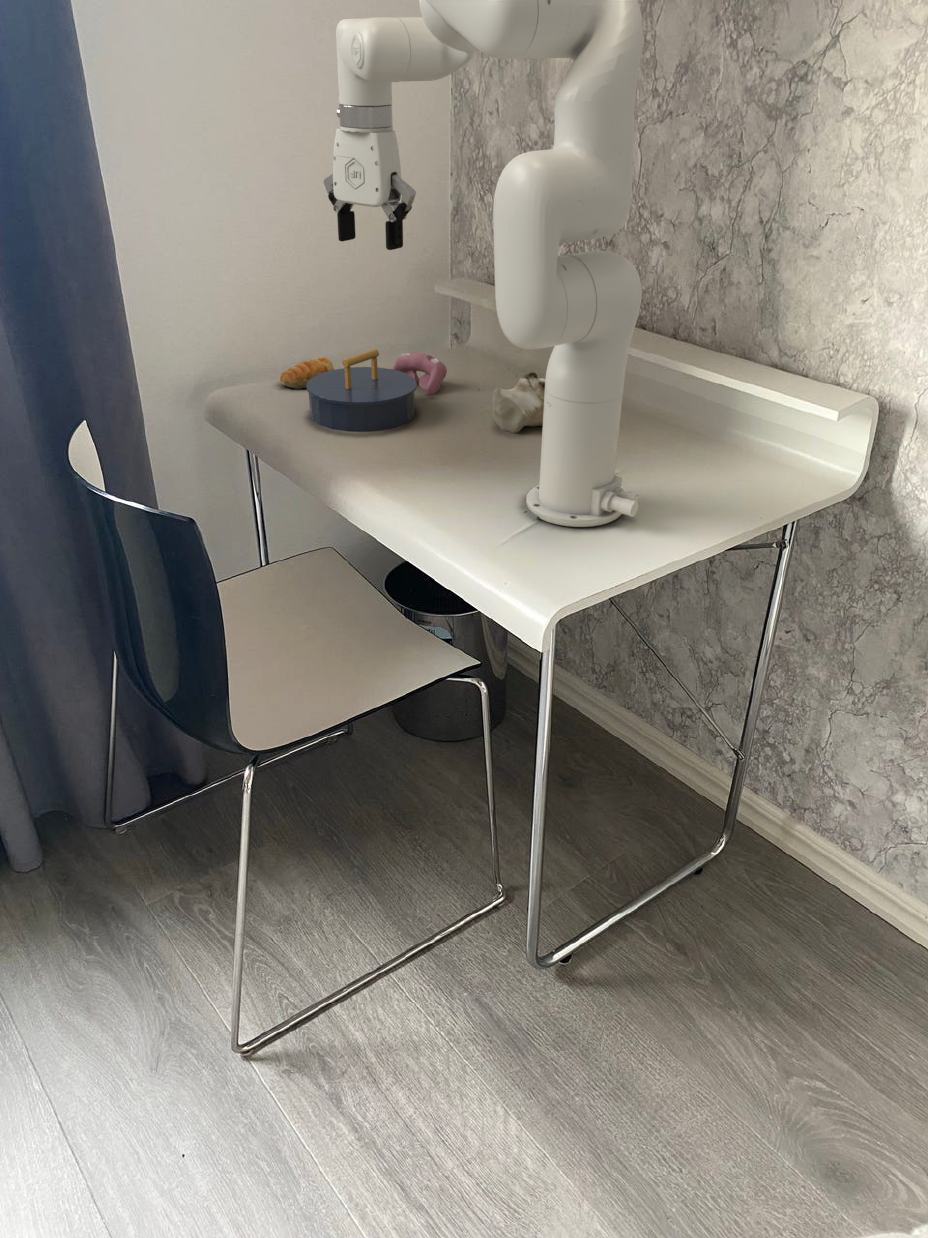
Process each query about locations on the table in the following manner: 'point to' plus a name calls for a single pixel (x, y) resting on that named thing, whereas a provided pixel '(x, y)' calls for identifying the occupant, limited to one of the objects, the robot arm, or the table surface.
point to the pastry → (305, 372)
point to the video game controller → (422, 370)
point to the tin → (362, 414)
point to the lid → (361, 383)
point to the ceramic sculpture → (520, 404)
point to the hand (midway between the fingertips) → (370, 244)
